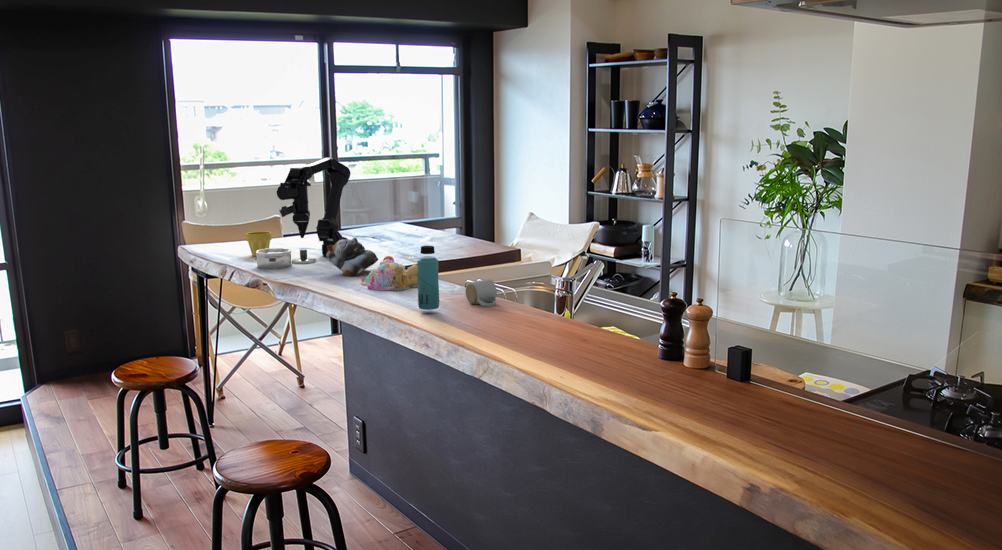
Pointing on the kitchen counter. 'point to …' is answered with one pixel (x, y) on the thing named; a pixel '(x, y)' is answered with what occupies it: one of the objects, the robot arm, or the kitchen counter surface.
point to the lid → (303, 258)
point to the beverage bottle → (428, 280)
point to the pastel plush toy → (391, 276)
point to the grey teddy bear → (350, 256)
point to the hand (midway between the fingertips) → (302, 236)
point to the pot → (273, 258)
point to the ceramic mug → (482, 292)
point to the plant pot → (258, 240)
